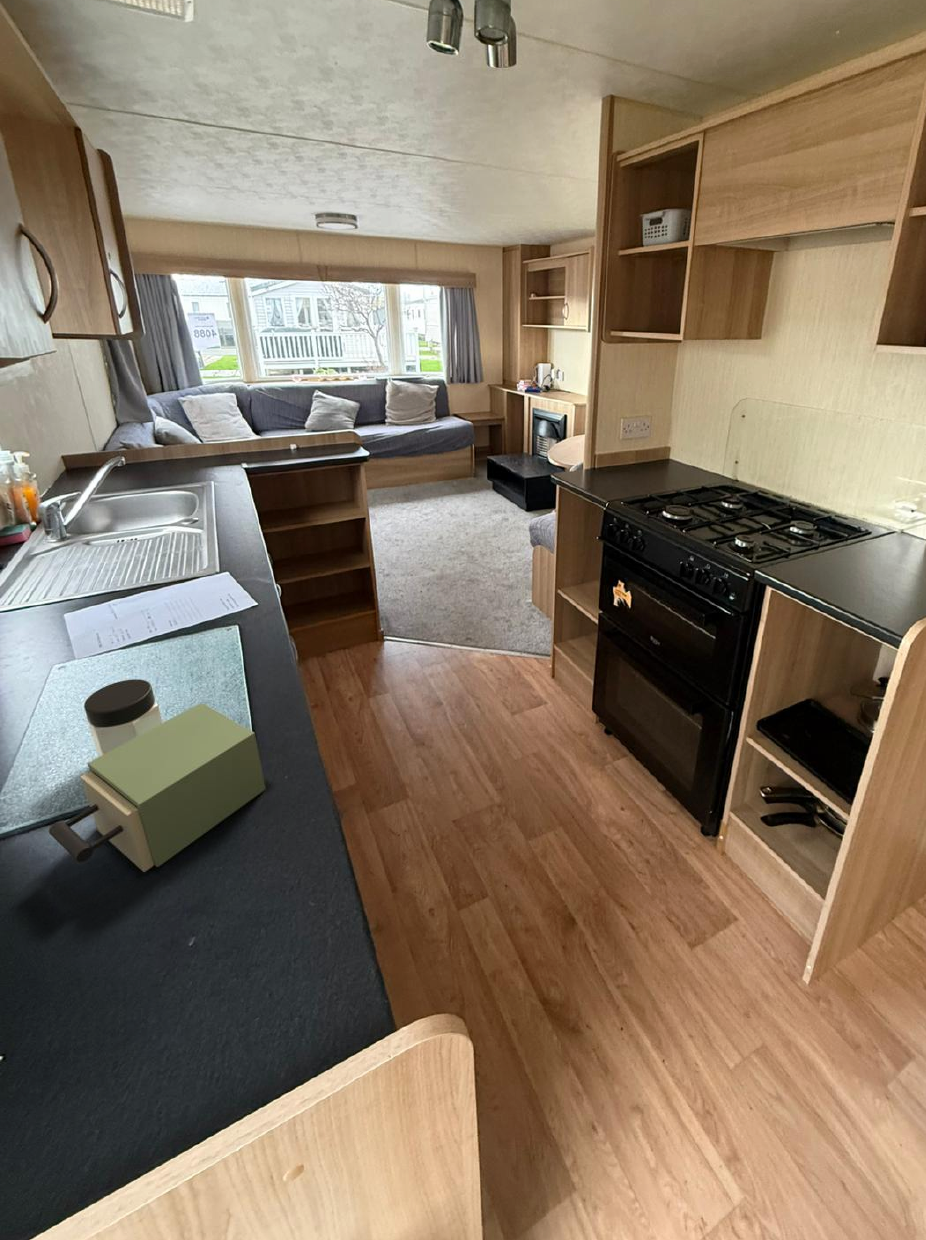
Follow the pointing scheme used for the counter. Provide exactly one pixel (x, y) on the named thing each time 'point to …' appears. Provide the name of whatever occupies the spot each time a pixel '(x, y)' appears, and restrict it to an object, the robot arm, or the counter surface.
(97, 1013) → the counter surface
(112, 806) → the drawer
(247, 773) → the cabinet
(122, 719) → the jar
